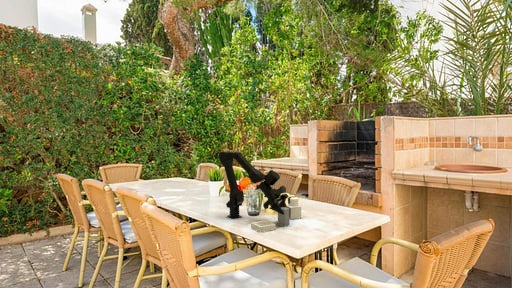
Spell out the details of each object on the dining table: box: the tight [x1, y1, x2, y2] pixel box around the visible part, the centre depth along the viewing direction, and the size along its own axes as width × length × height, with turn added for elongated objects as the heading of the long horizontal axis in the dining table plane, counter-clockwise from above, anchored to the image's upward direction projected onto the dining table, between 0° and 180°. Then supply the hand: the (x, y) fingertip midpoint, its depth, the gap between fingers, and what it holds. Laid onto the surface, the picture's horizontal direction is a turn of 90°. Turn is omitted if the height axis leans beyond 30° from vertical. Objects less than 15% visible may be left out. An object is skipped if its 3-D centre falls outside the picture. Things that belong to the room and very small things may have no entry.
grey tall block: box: [277, 207, 290, 228], centre depth 187 cm, size 4×4×9 cm
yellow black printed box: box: [286, 196, 302, 220], centre depth 203 cm, size 7×7×12 cm
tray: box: [250, 220, 277, 233], centre depth 181 cm, size 9×9×3 cm
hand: (285, 213), depth 186 cm, fingers closed on grey tall block, 4 cm apart
